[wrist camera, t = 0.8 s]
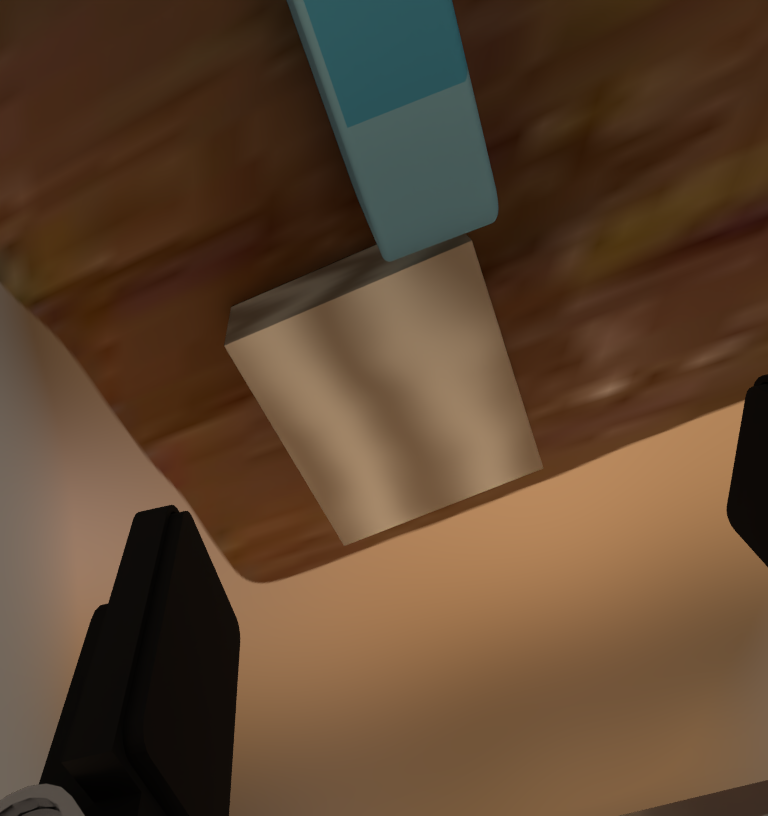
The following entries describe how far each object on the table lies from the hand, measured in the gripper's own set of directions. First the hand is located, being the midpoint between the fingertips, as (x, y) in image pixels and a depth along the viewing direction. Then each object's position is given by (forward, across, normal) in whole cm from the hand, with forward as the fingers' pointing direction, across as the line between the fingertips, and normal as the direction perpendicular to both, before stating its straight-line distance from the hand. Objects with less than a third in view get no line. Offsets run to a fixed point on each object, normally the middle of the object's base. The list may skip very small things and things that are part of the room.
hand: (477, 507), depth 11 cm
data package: (+26, -2, -5) cm, 27 cm away
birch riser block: (+26, 0, +11) cm, 28 cm away
